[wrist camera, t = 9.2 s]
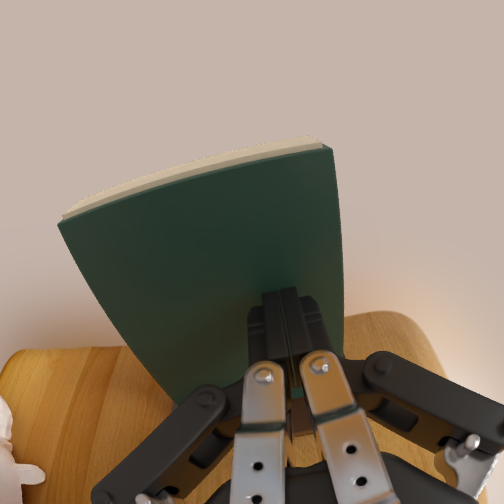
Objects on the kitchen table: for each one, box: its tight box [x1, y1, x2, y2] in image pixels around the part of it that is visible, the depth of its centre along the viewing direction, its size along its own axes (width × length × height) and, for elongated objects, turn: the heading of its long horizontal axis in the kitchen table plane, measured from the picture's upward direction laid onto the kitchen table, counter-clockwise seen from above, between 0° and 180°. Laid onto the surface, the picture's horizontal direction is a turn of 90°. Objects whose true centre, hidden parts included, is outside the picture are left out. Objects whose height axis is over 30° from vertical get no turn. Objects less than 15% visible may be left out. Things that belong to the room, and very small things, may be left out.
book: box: [57, 136, 344, 406], centre depth 15 cm, size 12×3×16 cm, turn 92°
